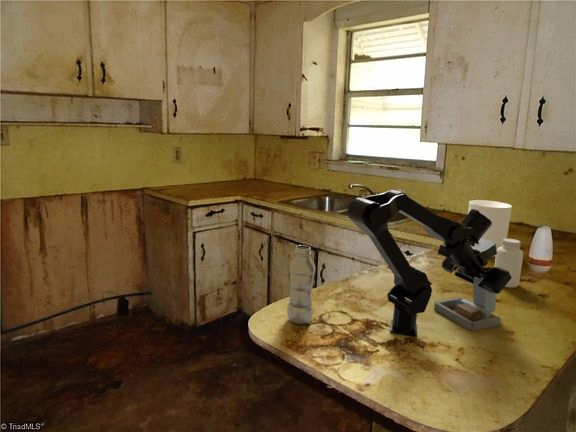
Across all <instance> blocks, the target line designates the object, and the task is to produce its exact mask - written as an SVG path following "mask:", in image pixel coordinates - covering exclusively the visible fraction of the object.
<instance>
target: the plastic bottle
mask: <svg viewBox="0 0 576 432" xmlns="http://www.w3.org/2000/svg"><path fill="white" fill-rule="evenodd" d="M311 249H312V248H311V247H310V246H309V245H305V244H302V245H301V244H299V245H296V246H295V252H294V254H295V255H296V256H294V258H293V260H292V261H291V262H290V265H289V277H290V292H289V293H290V294H289V302H288V304H287V310H286V313H287V318H288V319H289V321H290V322H291V323H293V324H298V325H304V324H307V323H309V322H311V320H312V318H313V315H314V313H313V312H314V311H313V303H312V302H313V301H312V300H313V299H312V296H313V295H312V290H313V283H314V282H313V281H314V277H315V273H316V266H315V263H314V261H313V260H312V258H311V256H312V252H311Z"/></svg>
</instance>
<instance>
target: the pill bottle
mask: <svg viewBox="0 0 576 432" xmlns="http://www.w3.org/2000/svg"><path fill="white" fill-rule="evenodd" d="M521 243H522V242H521V241H520V240H518V239H514V238H507V239H503V240H502V246H501V247H499V248H498V249H497V254H496V256H494V257H495V259H494V266H493V267H499V268H502V269H504V270H507V271H509V273H510V274H511V277H512V278H511V279H510V281H509V282H508V283H507V284H506V286H505V287H504V288H511V289H513V288H517V287H519V284H520V278H521V271H522V267H523V259H524V252H523V250H521V249H520V248H521Z"/></svg>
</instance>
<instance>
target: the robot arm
mask: <svg viewBox="0 0 576 432" xmlns="http://www.w3.org/2000/svg"><path fill="white" fill-rule="evenodd" d="M398 212H399V213H400V214H402V215H404V216H406V217H408V218H409V220H412V221H413V222H415V223H417V224H419V225H420V226H421V227H423V230H424V231H425V232H426V233H427V234H428V235H429V236H430V237H431V238H433V239H436V240H437V241H441V242H443V243H442V244H440V245H439V248H438V251H437V254H438V255H440V256H443V257H445V259H444V260H442V263H441V267H442V269H443V270H444V272H445V271H446V272H448V273H450V274H453V272H455V273H454V276H455V277H458V278H459V279H461V280H463V281H466V282H468V283H470V284H472V285H473V278H474V277H475V278H478V279H481V278H482V281H481V282H480V283H479V285H478V286H479V287H481V288H483V289H485V290H487V291H489V292H492V293H495V294H496V295H497V294H500V293H501V292H502V290H504V288H506V287H505V286H506V284H507V283H508V282H509V281H510V279H511V278H512V277H511V274H510V273H509V271H507V270H504V269H502V268H499V267H494V266H493V267H490V266H488V264H489V261H488V260H489V259H491V258H492V257H495V256H494V255H496V254H497V249H496V244H495V242H492V241H489V240H486V239H480V238H481V237H482V236H483V235H484V234H485V232H486V231H487V230H488V229H489V228H490V226H491V225H492V222H491V220H490V219H488V218H487V217H486V216H484V215H483V214H481V213H480V212H479V211H478V210H475V209H471V211H470V212H469V213H468V212H467V215H466V216H465V217H464V218H463V220H462V221H461V222H459V221H455V220H453V219H449V218H446V217H444V216H441V215H438V214H436V213H434V212H433V211H431V210H430V209H428V208H426V207H425V206H424V205H422V204H421V203H418V202H417V201H415V200H414V199H412V198H411V197H409V196H408V195H407V194H406V192H405V193H404V192H402V191H399V190H394V189H390V190H387V191H384V192H382V193H377V194H372V195H368V196H365V197H356V198H354V199H353V200H351V201H350V203H349V204H348V207H347V211H346V214H347V218H348V219H349V220H350V221H351V222H352V224H354V225H355V226H356V227H357V228H358V229H359V230H361V231H362V232H363V233H364V234H366V235H367V236H368V237H369V239H370V240H371V242H372V243H373V245H374V246H375V248H376V250H377V251H378V253H379V254H380V256H381V257H382V259H383V261H384V262H385V264H386V265H387V266H388V268H389V270H390V271H391V273H392V274H393V275H394V277H393V278H394V279H393V283H394V286H393V287H392V288H391V289H390V290H389V292H388V293H387V294H386V298H387V300H388V302H390V303H392V304H393V313H392V319H390V325H389V326H390V328H389V332H390V333H392V334H398V335H404V336H411V337H417V336H418V323H417V320H418V319H417V318H418V314H421V313H425V312H426V310H427V307H428V305H429V302H430V299H431V297H432V293H433V288H432V286H431V285H432V284H433V283H432V282H431V281H430V279H429V278H428V275H427V274H426V272H424V271H422V270H421V269H418V268H416V267H414V266H412V265H411V264H410V263H409V261H408V260H407V258H406V255H404V253H403V251H402V249H401V248H400V246H399V245H398V243H397V241H396V240H395V238H394V237H393V235H392V234H391V232H390V230H389V225H388V224H389V220H390V219H392V218H393V217H395V215H396V214H397V213H398ZM486 266H488V267H486Z"/></svg>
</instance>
